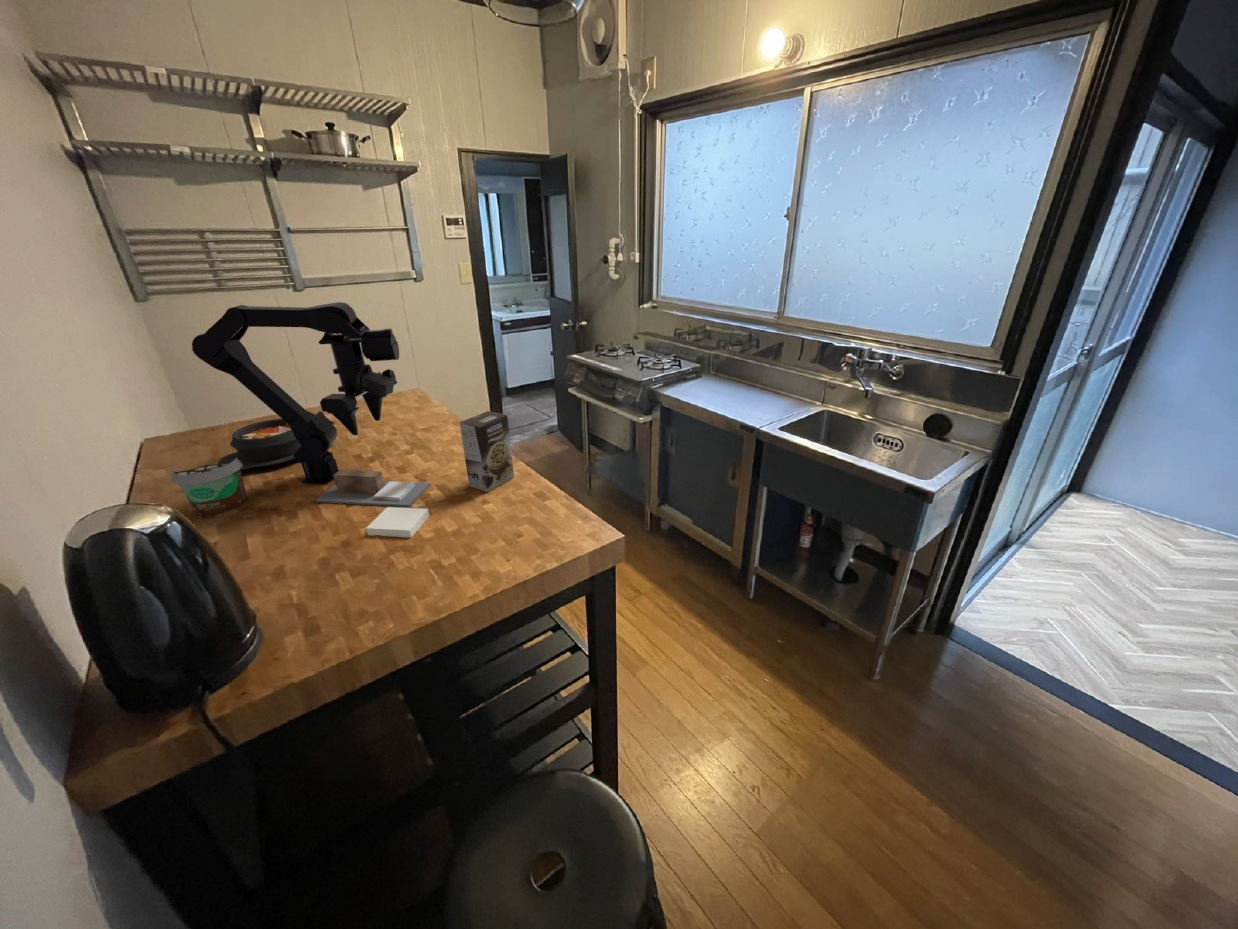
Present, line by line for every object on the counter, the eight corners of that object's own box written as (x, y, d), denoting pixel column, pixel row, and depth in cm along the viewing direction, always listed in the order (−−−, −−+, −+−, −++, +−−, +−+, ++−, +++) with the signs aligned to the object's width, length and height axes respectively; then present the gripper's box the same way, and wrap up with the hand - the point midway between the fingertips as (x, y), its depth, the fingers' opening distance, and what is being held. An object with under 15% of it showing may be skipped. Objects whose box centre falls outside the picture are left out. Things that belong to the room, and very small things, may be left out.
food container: (180, 524, 101) (159, 481, 97) (187, 510, 106) (168, 469, 102) (251, 509, 106) (234, 468, 102) (255, 496, 111) (239, 456, 107)
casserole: (315, 434, 144) (307, 407, 140) (340, 452, 133) (332, 423, 129) (212, 463, 128) (199, 433, 124) (230, 485, 116) (217, 453, 113)
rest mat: (315, 502, 109) (315, 500, 108) (343, 480, 118) (342, 479, 117) (409, 506, 106) (409, 504, 106) (430, 484, 115) (430, 483, 115)
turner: (332, 497, 109) (326, 479, 107) (350, 482, 116) (345, 465, 114) (400, 500, 108) (395, 482, 106) (415, 485, 114) (411, 468, 112)
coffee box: (488, 493, 111) (478, 427, 104) (468, 486, 115) (457, 421, 107) (515, 477, 118) (508, 414, 111) (496, 471, 121) (488, 409, 114)
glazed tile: (366, 528, 96) (409, 530, 95) (387, 506, 103) (428, 508, 102) (368, 536, 97) (411, 539, 96) (389, 515, 104) (429, 517, 103)
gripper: (359, 374, 100) (377, 444, 107) (405, 353, 117) (418, 414, 124) (309, 373, 101) (329, 442, 108) (361, 352, 118) (376, 413, 125)
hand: (366, 427), depth 116 cm, fingers open, 9 cm apart
